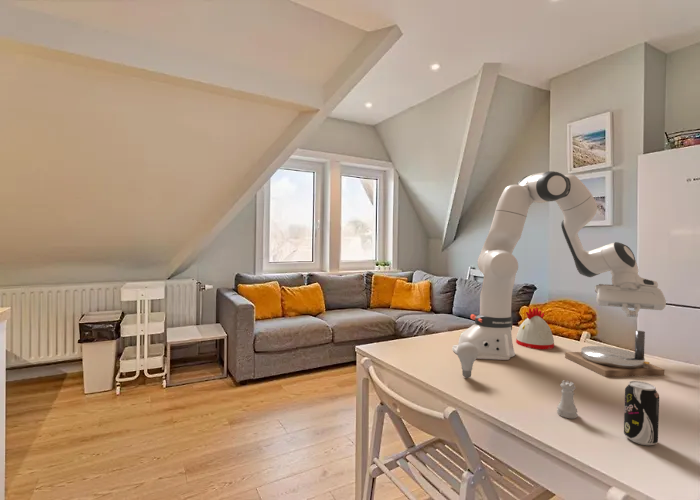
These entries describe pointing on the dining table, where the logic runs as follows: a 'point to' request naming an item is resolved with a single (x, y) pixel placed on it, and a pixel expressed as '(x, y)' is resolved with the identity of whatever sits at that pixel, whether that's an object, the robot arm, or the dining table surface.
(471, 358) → the lightbulb
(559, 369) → the dining table surface
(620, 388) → the dining table surface
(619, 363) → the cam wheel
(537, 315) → the kitchen timer
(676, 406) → the dining table surface
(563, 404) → the rook chess piece
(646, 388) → the beverage can
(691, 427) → the dining table surface
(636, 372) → the stand
